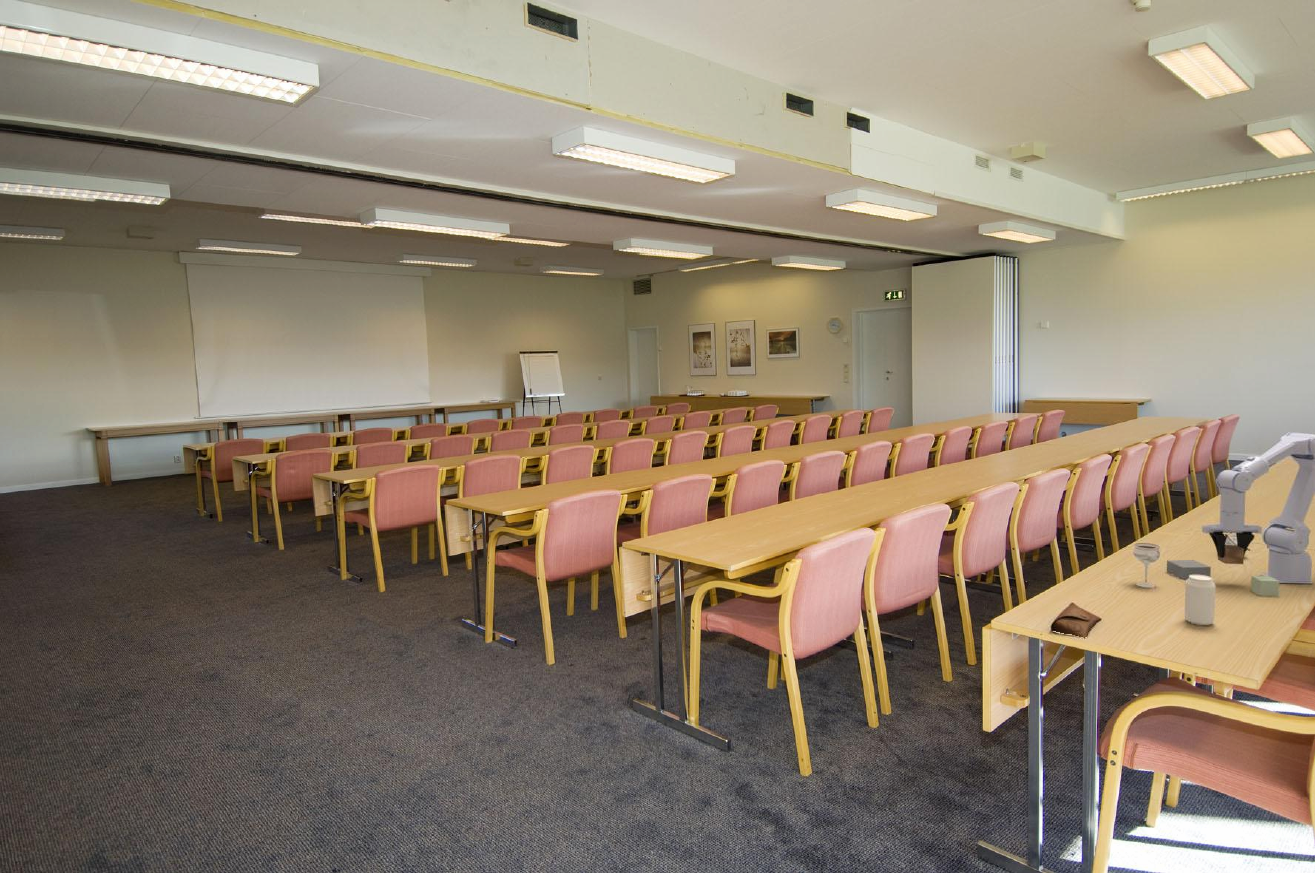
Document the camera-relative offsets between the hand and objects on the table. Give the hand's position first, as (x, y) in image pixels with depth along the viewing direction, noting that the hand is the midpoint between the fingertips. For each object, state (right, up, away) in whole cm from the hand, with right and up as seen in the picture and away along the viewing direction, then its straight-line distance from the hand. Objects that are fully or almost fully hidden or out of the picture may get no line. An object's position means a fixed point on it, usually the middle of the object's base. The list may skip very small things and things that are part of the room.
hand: (1230, 556), depth 222 cm
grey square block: (-5, -8, +11) cm, 14 cm away
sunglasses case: (-60, -14, -26) cm, 66 cm away
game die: (+22, -5, +29) cm, 37 cm away
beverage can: (-29, -13, -28) cm, 42 cm away
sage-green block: (+4, -9, -8) cm, 13 cm away
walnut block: (0, -1, 0) cm, 1 cm away
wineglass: (-23, -9, +4) cm, 25 cm away
